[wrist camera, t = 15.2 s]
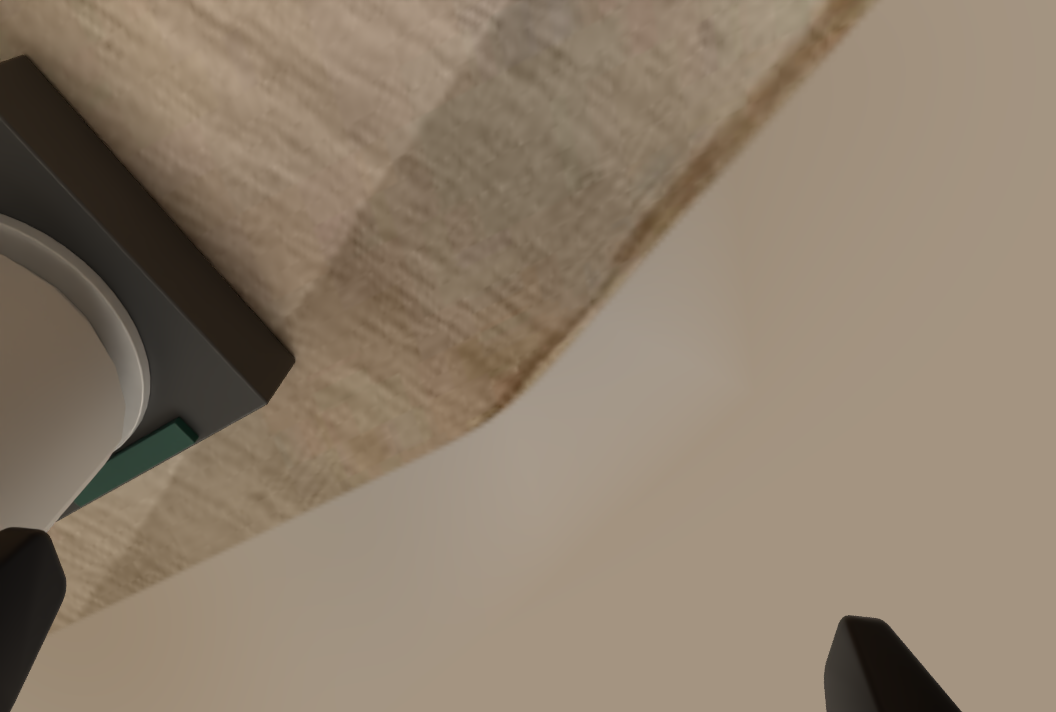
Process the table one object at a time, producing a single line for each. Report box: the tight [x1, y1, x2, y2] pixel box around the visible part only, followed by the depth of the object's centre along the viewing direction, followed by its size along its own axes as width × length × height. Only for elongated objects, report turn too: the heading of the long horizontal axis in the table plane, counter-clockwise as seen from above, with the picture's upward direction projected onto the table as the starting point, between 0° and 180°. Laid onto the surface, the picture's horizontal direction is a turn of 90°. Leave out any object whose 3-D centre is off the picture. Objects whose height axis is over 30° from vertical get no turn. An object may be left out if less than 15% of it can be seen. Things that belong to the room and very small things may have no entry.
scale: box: [0, 55, 295, 522], centre depth 23 cm, size 10×10×3 cm
